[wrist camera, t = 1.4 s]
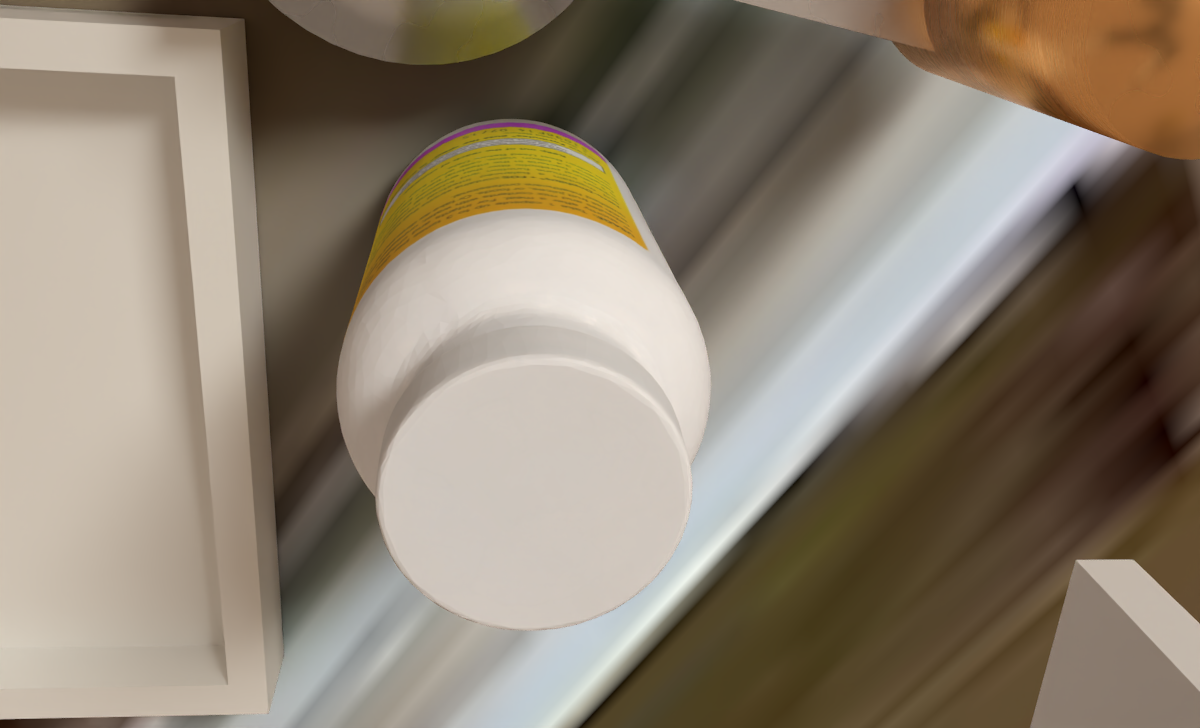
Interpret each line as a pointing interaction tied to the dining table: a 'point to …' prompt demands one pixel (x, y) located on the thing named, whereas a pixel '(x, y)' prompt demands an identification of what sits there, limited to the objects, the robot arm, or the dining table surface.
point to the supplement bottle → (522, 380)
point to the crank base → (422, 26)
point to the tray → (132, 372)
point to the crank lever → (1051, 57)
